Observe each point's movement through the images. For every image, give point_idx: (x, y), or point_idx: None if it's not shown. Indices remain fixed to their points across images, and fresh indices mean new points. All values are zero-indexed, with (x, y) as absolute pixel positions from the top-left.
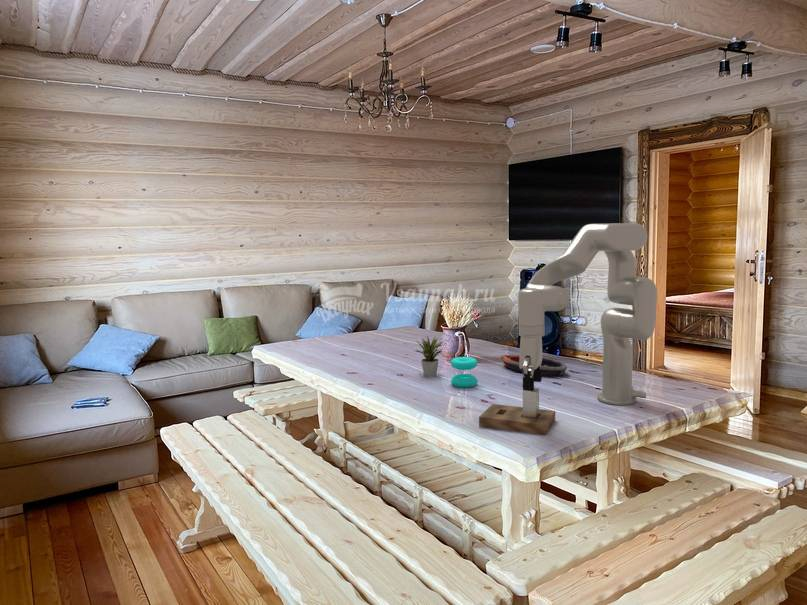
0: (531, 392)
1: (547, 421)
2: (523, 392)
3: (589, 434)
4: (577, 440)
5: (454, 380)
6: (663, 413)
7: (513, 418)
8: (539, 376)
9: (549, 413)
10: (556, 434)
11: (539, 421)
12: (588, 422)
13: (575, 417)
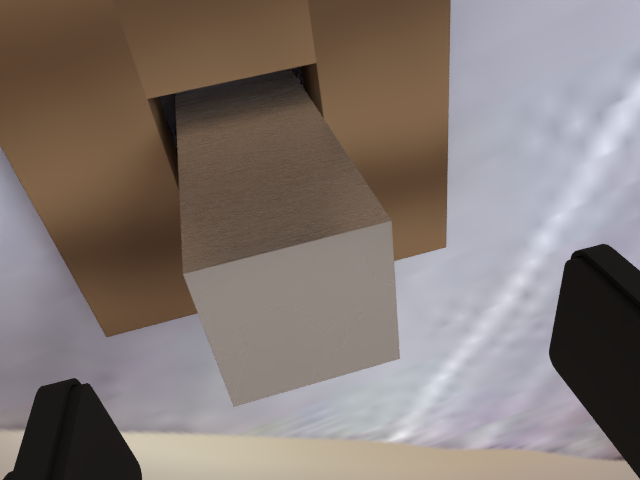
0: (218, 357)
1: (190, 311)
2: (183, 267)
3: (279, 410)
4: (160, 417)
5: None
6: None
7: (53, 66)
8: (600, 413)
9: None
10: (173, 321)
11: (149, 276)
12: (451, 340)
13: (511, 267)
